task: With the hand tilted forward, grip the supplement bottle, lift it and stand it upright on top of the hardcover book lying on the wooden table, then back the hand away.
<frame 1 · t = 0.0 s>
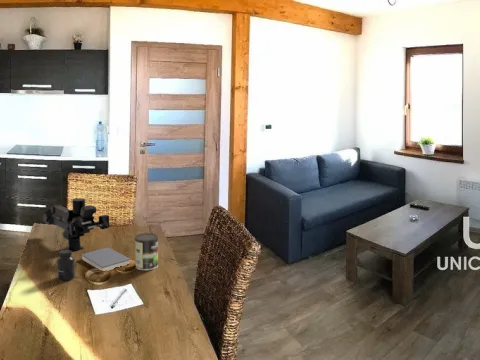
hand: (98, 229, 190), 17 cm above the table, tool horizontal, fingers open, 9 cm apart
coffee can: (146, 266, 192), on the table
book: (105, 262, 195), on the table
supplement bottle: (66, 278, 177), on the table
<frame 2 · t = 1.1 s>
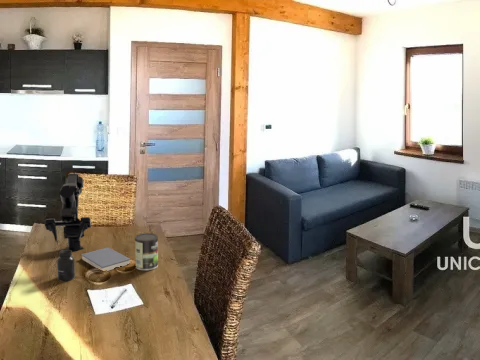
hand: (67, 240, 182), 14 cm above the table, tool tilted 45°, fingers open, 9 cm apart
nothing on the table moved.
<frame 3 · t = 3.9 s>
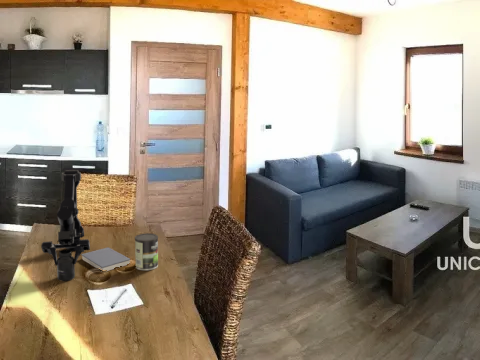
hand: (65, 264, 174), 7 cm above the table, tool tilted 45°, fingers closed on supplement bottle, 7 cm apart
supplement bottle: (66, 278, 177), on the table, touching gripper
everything else where it was.
when the fingers open (11 cm above the table, at t = 8.5 s): supplement bottle drops 2 cm, resting on book.
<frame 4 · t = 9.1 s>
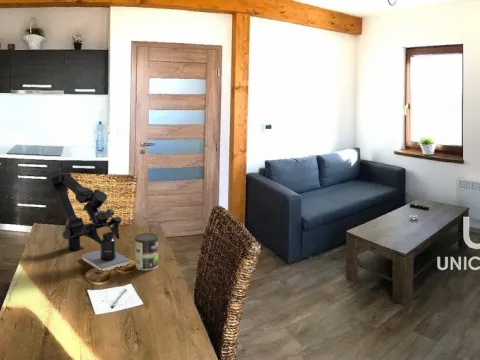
hand: (110, 241, 190), 11 cm above the table, tool tilted 45°, fingers open, 9 cm apart
book: (105, 263, 196), on the table, touching supplement bottle
supplement bottle: (108, 258, 193), point 2 cm above the table, touching book
everything else where it was.
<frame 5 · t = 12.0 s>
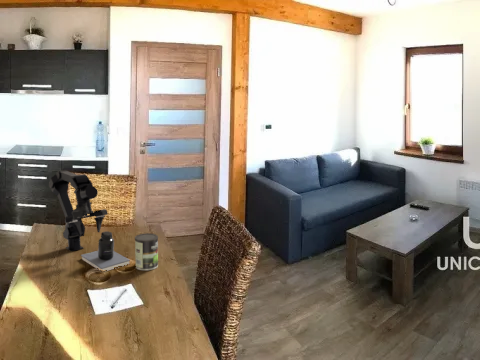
hand: (89, 234, 195), 12 cm above the table, tool tilted 20°, fingers open, 9 cm apart
book: (105, 263, 196), on the table
supplement bottle: (105, 257, 194), point 2 cm above the table
everything else where it was.
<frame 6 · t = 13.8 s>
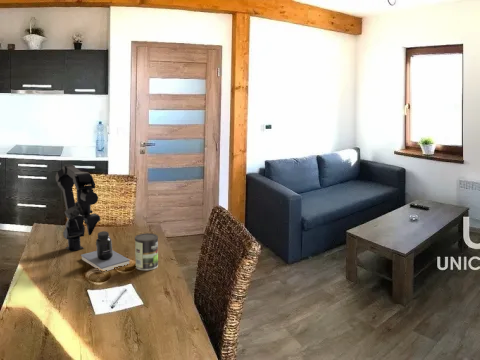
hand: (85, 232, 195), 13 cm above the table, tool pointing down, fingers open, 9 cm apart
at the end: supplement bottle inside the target area on the book (1.8 cm from its centre), point 3.3 cm above the book's base; supplement bottle tilted 9°; the gripper is holding nothing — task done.
